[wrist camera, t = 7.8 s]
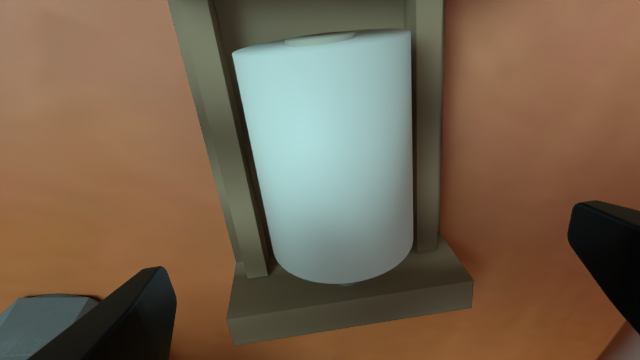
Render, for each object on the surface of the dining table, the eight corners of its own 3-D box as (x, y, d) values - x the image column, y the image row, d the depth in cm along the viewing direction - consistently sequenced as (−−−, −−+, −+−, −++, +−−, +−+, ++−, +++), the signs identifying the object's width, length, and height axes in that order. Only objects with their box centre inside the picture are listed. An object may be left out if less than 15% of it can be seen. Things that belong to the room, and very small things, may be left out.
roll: (391, 197, 19) (435, 272, 14) (274, 214, 19) (271, 298, 13) (384, 21, 16) (440, 29, 10) (240, 40, 15) (217, 59, 10)
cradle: (432, 245, 22) (471, 307, 17) (243, 274, 21) (234, 345, 17) (437, -102, 15) (507, -149, 10) (156, -69, 14) (99, -103, 10)
